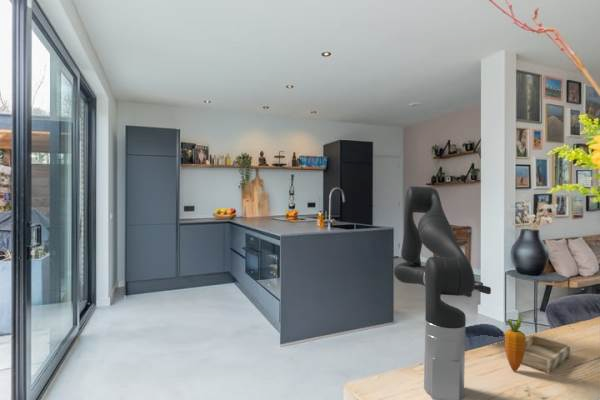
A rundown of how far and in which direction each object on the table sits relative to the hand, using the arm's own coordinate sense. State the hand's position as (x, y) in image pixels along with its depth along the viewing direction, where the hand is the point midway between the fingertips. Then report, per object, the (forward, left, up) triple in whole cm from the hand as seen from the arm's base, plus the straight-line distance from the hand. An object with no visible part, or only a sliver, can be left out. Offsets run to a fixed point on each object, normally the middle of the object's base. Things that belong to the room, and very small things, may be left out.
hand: (480, 292), depth 108 cm
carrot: (-8, -7, -20) cm, 23 cm away
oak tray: (+4, -17, -19) cm, 26 cm away
